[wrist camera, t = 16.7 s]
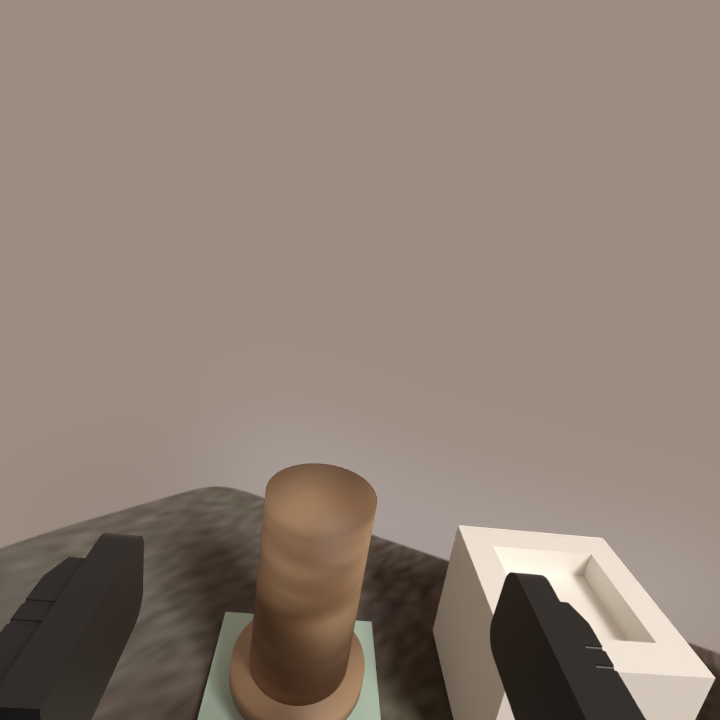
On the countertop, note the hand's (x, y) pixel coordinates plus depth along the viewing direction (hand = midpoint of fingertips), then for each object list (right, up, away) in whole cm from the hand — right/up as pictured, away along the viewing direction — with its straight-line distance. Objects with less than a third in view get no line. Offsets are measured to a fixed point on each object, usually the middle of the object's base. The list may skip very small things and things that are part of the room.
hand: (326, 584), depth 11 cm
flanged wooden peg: (-3, -12, +15) cm, 19 cm away
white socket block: (+10, -14, +16) cm, 24 cm away
